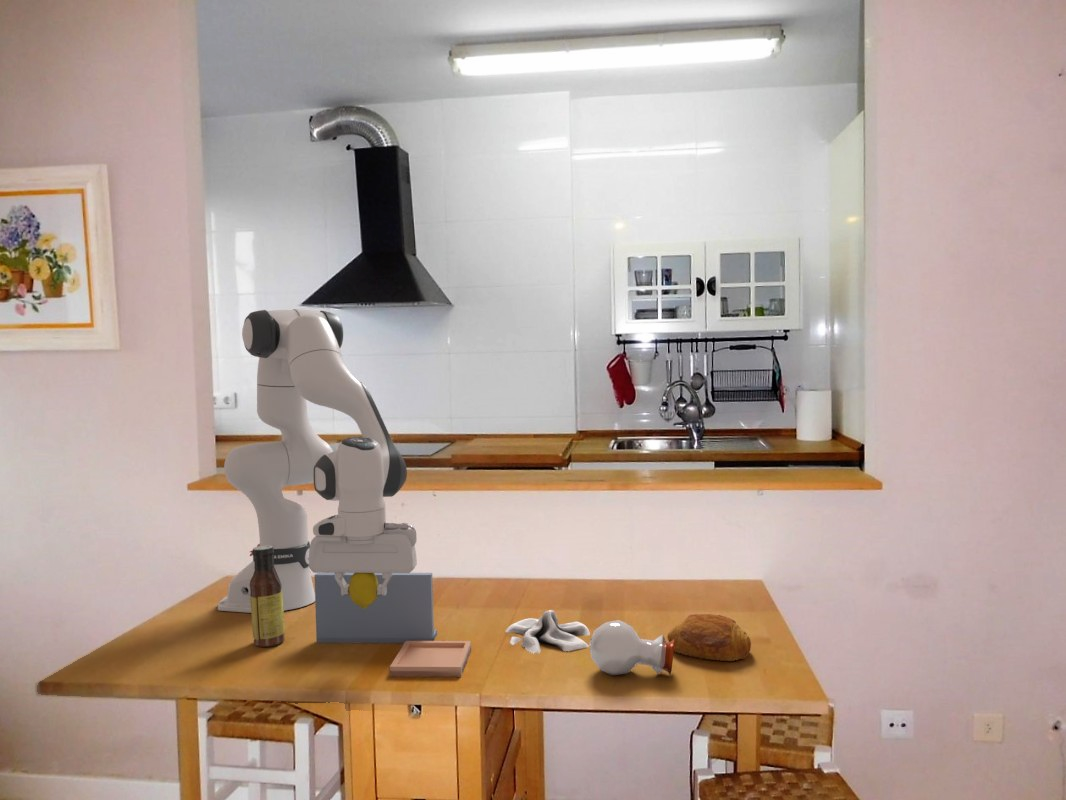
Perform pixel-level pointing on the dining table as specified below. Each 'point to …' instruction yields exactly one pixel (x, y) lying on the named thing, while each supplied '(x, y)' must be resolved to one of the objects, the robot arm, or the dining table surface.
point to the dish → (431, 659)
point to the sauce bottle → (266, 600)
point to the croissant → (710, 638)
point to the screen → (376, 611)
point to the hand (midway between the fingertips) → (364, 594)
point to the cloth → (548, 633)
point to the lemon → (363, 589)
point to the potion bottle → (628, 649)
